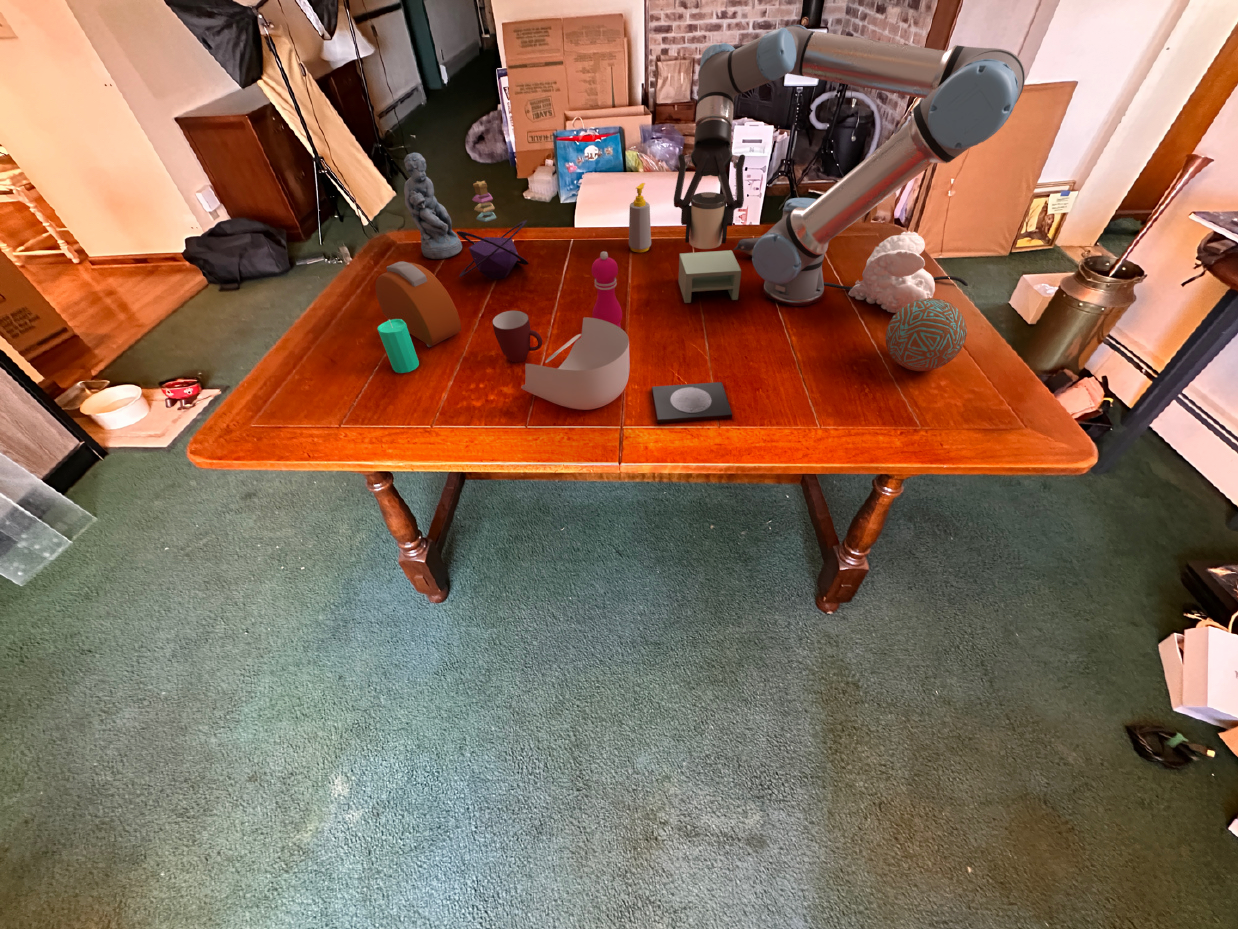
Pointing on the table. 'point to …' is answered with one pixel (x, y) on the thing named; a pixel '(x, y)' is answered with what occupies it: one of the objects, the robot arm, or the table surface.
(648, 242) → the soap bottle
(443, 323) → the alarm clock
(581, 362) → the white curved piece
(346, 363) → the table surface
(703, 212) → the jar
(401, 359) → the candle
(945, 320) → the decorative sphere
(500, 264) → the purple faceted sculpture
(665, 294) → the table surface
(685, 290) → the small table
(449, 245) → the statue
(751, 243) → the decorative bird
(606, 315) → the pepper mill
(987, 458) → the table surface
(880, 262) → the white lumpy figure
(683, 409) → the hob plate
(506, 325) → the mug
